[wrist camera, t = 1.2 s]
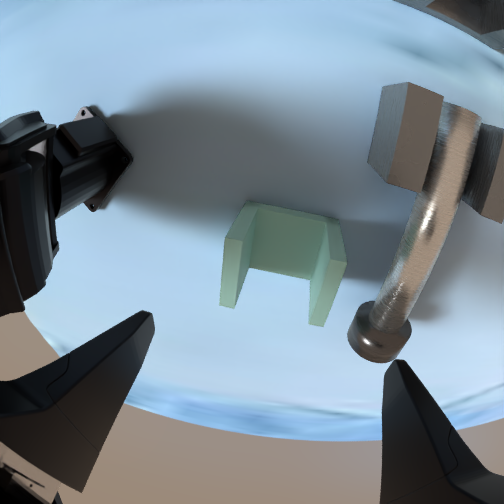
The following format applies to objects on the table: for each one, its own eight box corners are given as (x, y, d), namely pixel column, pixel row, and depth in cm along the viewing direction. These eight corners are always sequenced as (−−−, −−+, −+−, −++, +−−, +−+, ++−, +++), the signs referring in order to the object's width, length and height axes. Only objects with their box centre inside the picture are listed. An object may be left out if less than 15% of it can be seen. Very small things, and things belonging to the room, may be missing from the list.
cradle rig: (466, 195, 15) (501, 223, 11) (367, 162, 16) (386, 183, 12) (493, 7, 7) (529, -4, 3) (394, -42, 8) (413, -73, 4)
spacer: (322, 274, 21) (323, 326, 16) (239, 257, 21) (219, 305, 17) (338, 219, 18) (347, 262, 14) (247, 200, 19) (224, 237, 14)
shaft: (394, 324, 21) (404, 365, 17) (345, 316, 21) (349, 359, 17) (470, 121, 12) (510, 131, 8) (413, 95, 13) (445, 95, 9)
